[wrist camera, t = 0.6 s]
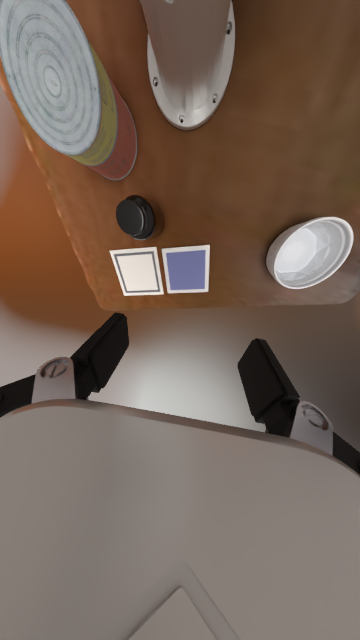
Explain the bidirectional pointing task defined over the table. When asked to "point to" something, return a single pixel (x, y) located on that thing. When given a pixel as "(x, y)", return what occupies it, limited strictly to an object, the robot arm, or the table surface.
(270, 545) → the robot arm
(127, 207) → the supplement bottle
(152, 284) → the marked card
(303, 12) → the table surface
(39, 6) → the canned food
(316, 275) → the ramekin
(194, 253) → the ink pad
